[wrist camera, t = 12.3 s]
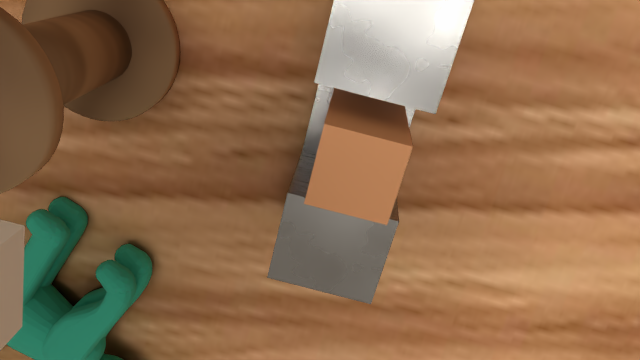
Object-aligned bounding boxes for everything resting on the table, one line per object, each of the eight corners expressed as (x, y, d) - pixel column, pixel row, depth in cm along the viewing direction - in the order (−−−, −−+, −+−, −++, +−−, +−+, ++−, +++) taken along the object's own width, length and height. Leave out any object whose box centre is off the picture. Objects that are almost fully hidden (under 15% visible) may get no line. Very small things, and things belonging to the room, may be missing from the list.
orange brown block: (335, 82, 27) (324, 123, 21) (403, 100, 28) (412, 146, 21) (319, 146, 29) (303, 203, 22) (384, 163, 29) (387, 225, 22)
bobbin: (30, 95, 31) (-161, 178, 20) (34, -56, 28) (-190, -59, 17) (169, 131, 31) (57, 234, 20) (190, -16, 28) (69, 9, 17)
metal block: (288, 211, 32) (267, 277, 26) (349, -40, 27) (342, -36, 20) (371, 232, 32) (370, 304, 26) (449, -13, 27) (474, -1, 20)
